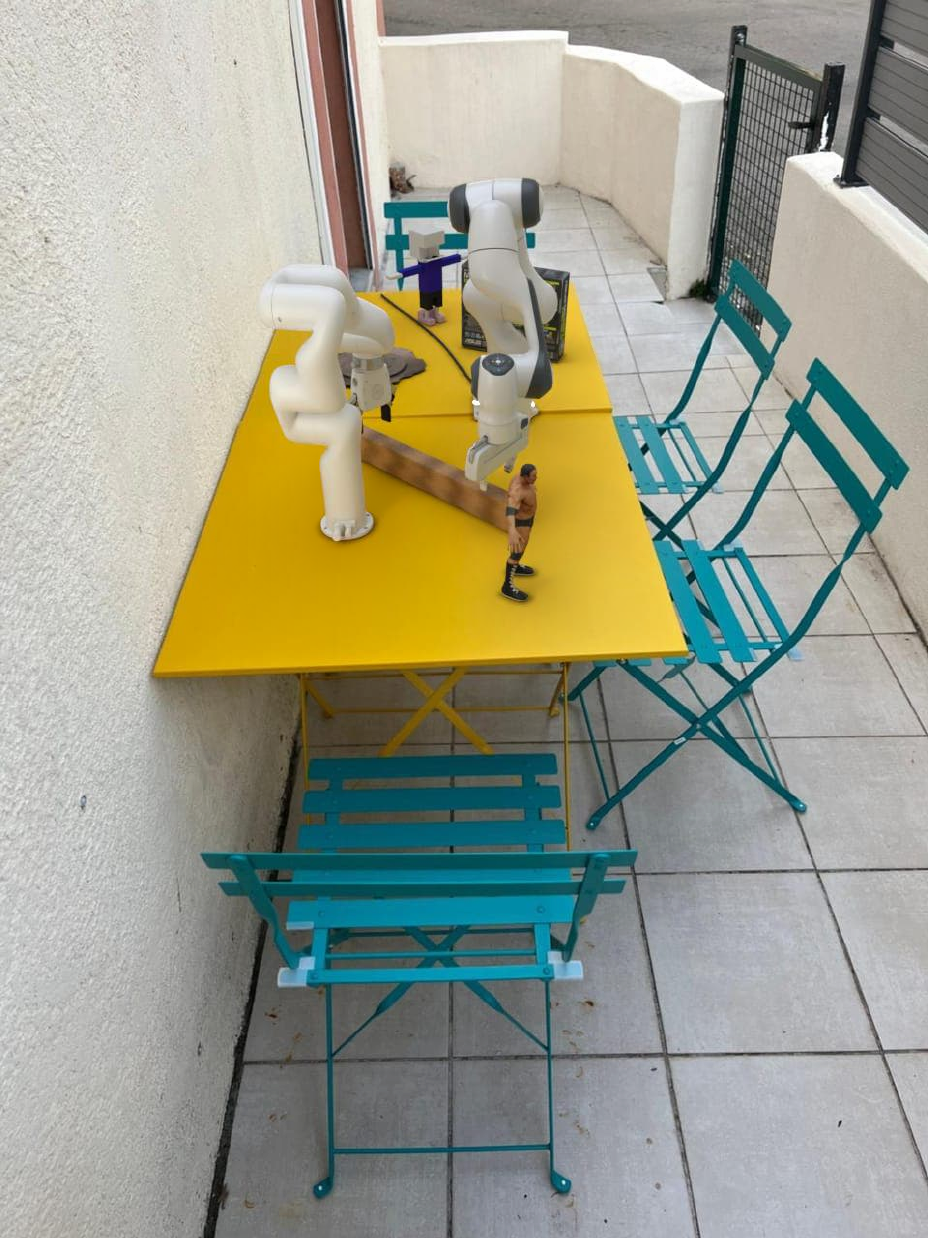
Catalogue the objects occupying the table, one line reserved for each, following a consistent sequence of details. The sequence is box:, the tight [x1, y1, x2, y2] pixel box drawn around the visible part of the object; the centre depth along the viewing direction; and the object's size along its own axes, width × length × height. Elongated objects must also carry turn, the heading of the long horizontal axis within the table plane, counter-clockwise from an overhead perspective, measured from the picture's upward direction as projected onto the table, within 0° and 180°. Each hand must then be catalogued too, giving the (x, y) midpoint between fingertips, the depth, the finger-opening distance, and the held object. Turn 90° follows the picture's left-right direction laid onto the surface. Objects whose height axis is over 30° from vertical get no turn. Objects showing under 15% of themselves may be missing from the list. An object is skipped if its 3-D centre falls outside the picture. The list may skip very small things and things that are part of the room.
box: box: [460, 259, 571, 363], centre depth 279 cm, size 34×7×27 cm, turn 68°
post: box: [361, 424, 508, 533], centre depth 222 cm, size 56×5×8 cm, turn 48°
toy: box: [384, 223, 468, 327], centre depth 298 cm, size 35×10×30 cm, turn 130°
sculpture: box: [338, 346, 426, 387], centre depth 273 cm, size 33×35×16 cm
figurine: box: [500, 463, 538, 602], centre depth 184 cm, size 24×6×30 cm, turn 168°
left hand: (372, 426), depth 227 cm, fingers open, 9 cm apart
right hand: (496, 480), depth 208 cm, fingers open, 8 cm apart
